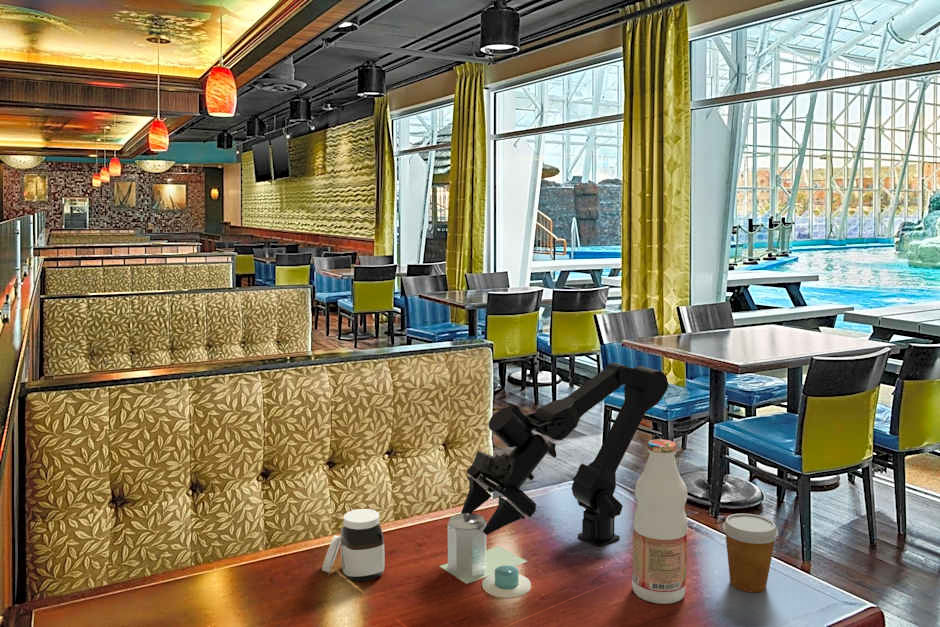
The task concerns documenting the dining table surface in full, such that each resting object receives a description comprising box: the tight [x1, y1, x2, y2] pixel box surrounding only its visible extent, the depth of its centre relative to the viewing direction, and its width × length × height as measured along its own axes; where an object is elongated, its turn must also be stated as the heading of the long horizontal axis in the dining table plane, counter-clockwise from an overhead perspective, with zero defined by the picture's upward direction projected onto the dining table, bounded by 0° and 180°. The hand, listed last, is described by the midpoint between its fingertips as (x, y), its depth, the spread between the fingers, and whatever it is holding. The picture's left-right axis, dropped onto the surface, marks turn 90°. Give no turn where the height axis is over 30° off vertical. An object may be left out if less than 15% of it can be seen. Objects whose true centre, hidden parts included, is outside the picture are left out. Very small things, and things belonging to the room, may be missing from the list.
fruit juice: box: [631, 438, 688, 605], centre depth 135 cm, size 9×9×28 cm
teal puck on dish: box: [481, 565, 532, 599], centre depth 139 cm, size 9×9×3 cm
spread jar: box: [321, 508, 386, 582], centre depth 145 cm, size 12×11×12 cm
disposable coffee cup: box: [722, 513, 779, 593], centre depth 139 cm, size 10×10×12 cm
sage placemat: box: [439, 545, 529, 585], centre depth 148 cm, size 15×9×1 cm, turn 127°
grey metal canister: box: [446, 512, 487, 579], centre depth 145 cm, size 7×7×11 cm
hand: (473, 524), depth 145 cm, fingers open, 9 cm apart
